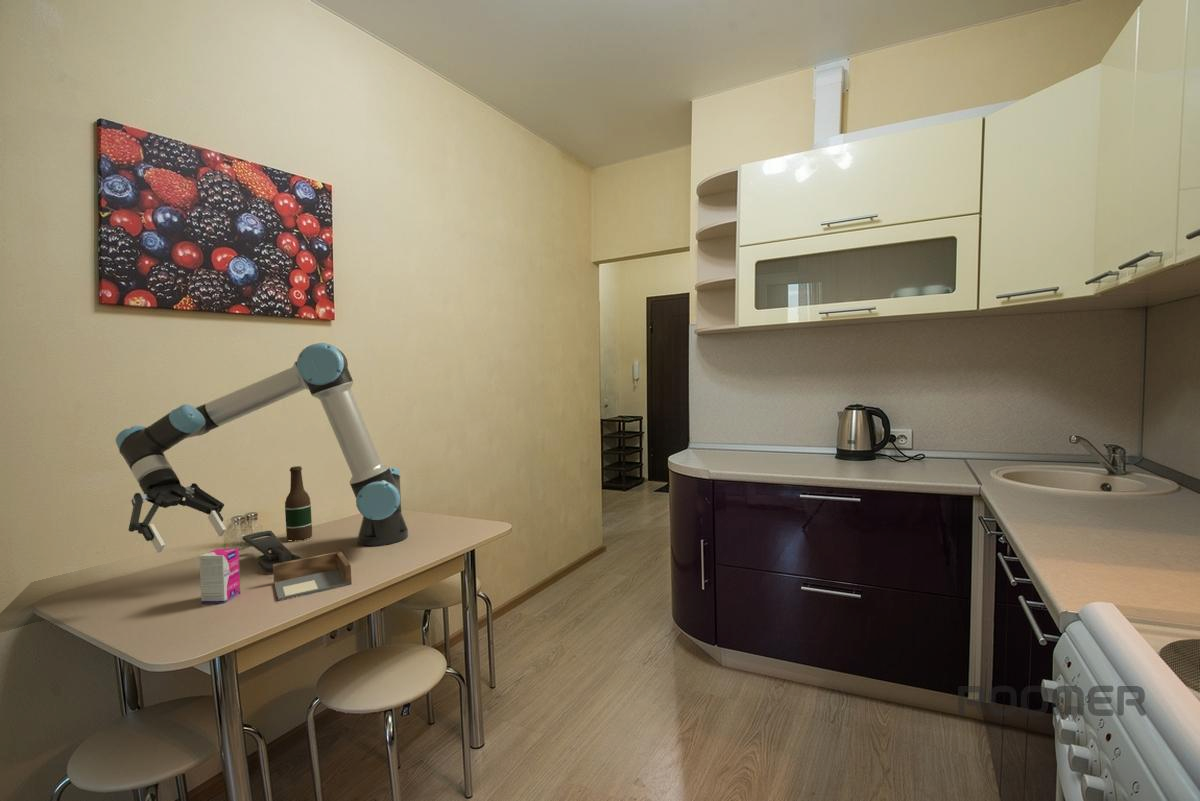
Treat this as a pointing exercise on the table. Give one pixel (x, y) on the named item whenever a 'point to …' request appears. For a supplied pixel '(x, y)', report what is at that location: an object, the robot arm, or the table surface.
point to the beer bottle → (298, 508)
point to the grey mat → (309, 584)
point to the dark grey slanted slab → (269, 543)
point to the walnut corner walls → (313, 567)
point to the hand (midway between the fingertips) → (193, 540)
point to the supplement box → (219, 575)
